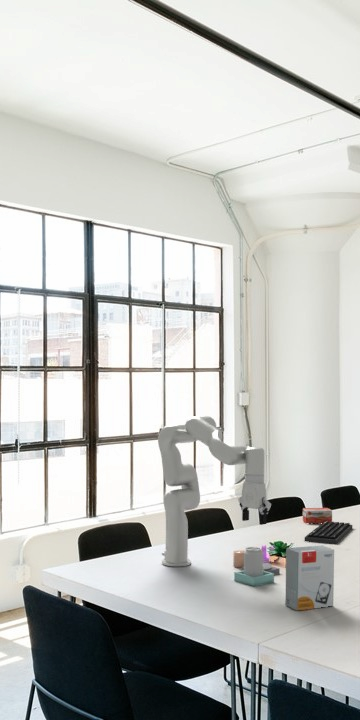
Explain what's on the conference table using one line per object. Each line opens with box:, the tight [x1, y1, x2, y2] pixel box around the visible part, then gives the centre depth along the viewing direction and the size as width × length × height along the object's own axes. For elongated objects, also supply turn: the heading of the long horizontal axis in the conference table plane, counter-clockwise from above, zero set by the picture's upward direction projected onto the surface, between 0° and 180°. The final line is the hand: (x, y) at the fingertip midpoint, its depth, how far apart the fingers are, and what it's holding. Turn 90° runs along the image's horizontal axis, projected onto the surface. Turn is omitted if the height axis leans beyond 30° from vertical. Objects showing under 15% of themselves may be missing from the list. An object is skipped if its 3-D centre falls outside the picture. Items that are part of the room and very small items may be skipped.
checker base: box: [241, 566, 280, 576], centre depth 296 cm, size 11×11×3 cm
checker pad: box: [263, 562, 273, 570], centre depth 296 cm, size 9×9×1 cm
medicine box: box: [302, 507, 333, 524], centre depth 411 cm, size 15×8×8 cm, turn 96°
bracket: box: [260, 544, 274, 563], centre depth 321 cm, size 13×6×7 cm, turn 160°
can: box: [244, 546, 264, 577], centre depth 283 cm, size 8×8×12 cm
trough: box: [233, 570, 275, 587], centre depth 283 cm, size 11×11×3 cm
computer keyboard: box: [304, 521, 353, 545], centre depth 377 cm, size 45×16×4 cm, turn 157°
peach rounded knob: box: [232, 549, 246, 569], centre depth 307 cm, size 6×6×6 cm
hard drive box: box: [284, 545, 335, 611], centre depth 251 cm, size 16×8×20 cm, turn 114°
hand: (254, 522), depth 284 cm, fingers open, 9 cm apart
